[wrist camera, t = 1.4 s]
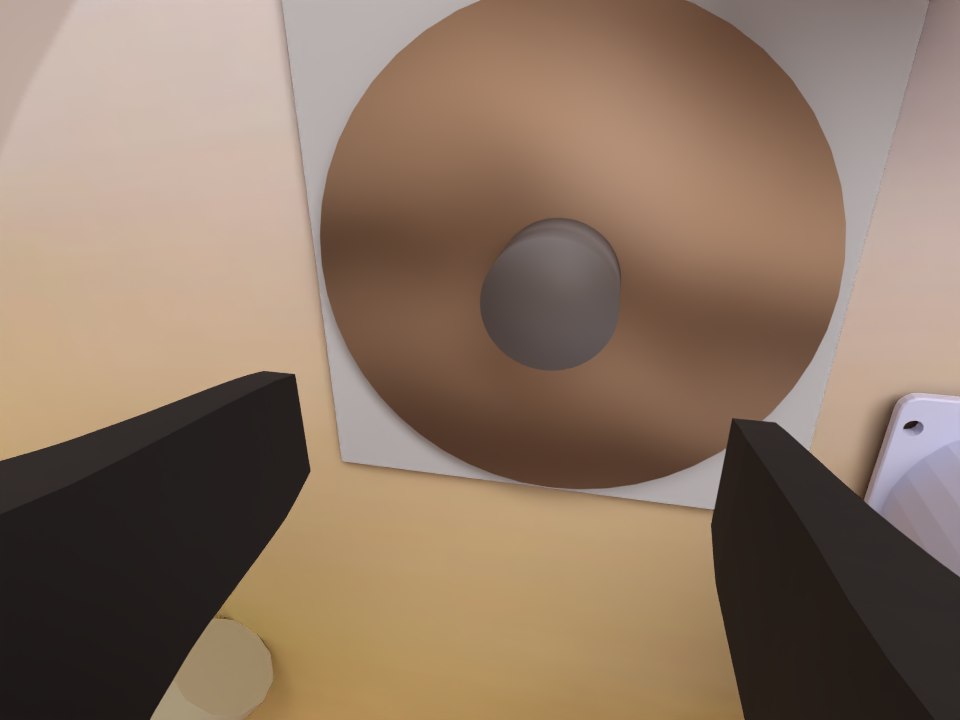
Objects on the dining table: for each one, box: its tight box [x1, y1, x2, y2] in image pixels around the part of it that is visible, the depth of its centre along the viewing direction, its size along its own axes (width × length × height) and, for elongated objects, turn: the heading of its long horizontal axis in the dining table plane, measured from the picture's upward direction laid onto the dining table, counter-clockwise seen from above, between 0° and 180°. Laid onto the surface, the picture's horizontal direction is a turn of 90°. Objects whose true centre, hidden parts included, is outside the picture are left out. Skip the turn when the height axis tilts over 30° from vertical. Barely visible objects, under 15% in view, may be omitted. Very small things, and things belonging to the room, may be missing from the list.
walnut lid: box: [320, 0, 846, 489], centre depth 17 cm, size 15×15×3 cm
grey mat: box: [282, 0, 930, 510], centre depth 19 cm, size 16×16×1 cm
